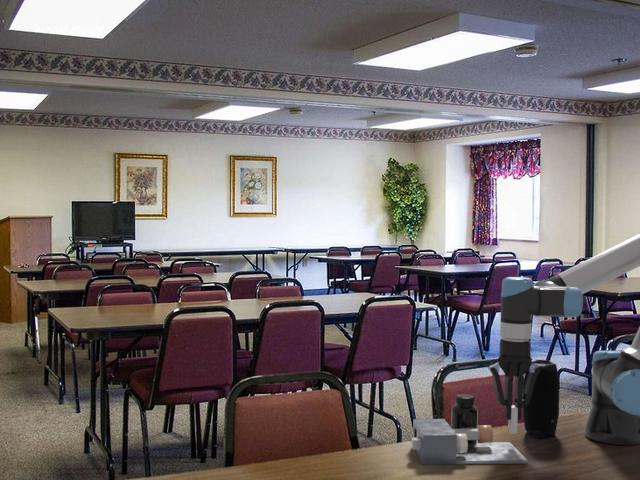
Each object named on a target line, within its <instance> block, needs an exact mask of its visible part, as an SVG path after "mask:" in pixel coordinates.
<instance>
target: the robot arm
mask: <svg viewBox="0 0 640 480" xmlns="http://www.w3.org/2000/svg"><path fill="white" fill-rule="evenodd" d="M637 268H640V233H639V234H636V235H634V236H633V237H631V238H628V239H626V240H624V241H623V242H620V243H618V244H616V245H614V246H613V247H610V248H608V249H606V250H604V251H602V252H600V253H598V254H596V255H594V256H592V257H590V258H588V259H586V260H584V261H582V262H580V263H578V264H576V265H574V266H572V267H569V268H568V269H566V270H564V271H562V272H560V273H558V274H556V275H554V276H552V277H550V278H548V279H543V280H537V281H536V282H535V283H533V279H532V278H531V277H526V276H525V277H522V276H507V277H505V278H503V280H502V283H501V294H500V324H499V325H500V329H499V330H500V332H499V337H501V338H500V340H499V356H498V358H497V360H496V363H494V364H491V365H488V370H489V372H490V374H491V376H492V379H493V385H494V391H495V394H496V399H497V402H498V403H499V404H500V405H502V406H504V418H505V420H506V421H507V420H508V421H507V425H508V426H507V430H508V432H509V433H510V434H511V435H515V434H516V435H517V434H518V421H520V420H521V419H522V411H523V406H524V405H528V404H529V403H530V399H531V395H532V392H533V388H534V384H535V381H536V377H537V375H538V374H539V373H540V371H541V369H540V368H539V367H537V366H535V365H534V364H532V361H533V360H532V359H531V349H532V348H531V347H532V346H531V345H532V342H531V341H530V339H531V338H532V318H533V317H553V318H554V317H556V318H557V317H558V318H567V319H568V318H579V316H580V315H581V314H582V312H583V306H584V296H583V295H584V294H585V293H588V292H590V291H592V290H594V289H597V288H598V287H600V286H602V285H604V284H606V283H608V282H611V281H612V280H615V279H616V278H619V277H621V276H623V275H624V274H627V273H628V272H629V273H630V272H631V271H633V270H635V269H637ZM591 364H592V365H591V367H592V373H591V375H592V376H591V379H592V380H591V381H592V383H591V408H590V410H589V413H588V415H587V418H586V421H585V424H584V436H585V437H587V438H588V439H589V440H593V441H595V442H598V443H605V444H609V445H617V446H634V445H635V446H636V445H640V326H638V330H637V331H636V334H635V336H634V338H633V341H632V343H631V345H630V346H629V347H625V348H623V349H621V350H597V351H595V352H593V355H592V360H591ZM529 367H530V369H529ZM500 369H501V371H502V372H503V373H504V379H505V380H504V381H505V382H504V390H503V386H502V382H501V381H502V380H501V376H500V374H499V373H500ZM528 369H529V372H530V373H529V375H528V379H527V382H526V386H525V390H524V393H523V381H524V376H525V373H526V371H527V370H528ZM514 379H515V380H514ZM514 381H515V382H514ZM514 383H515V384H514ZM513 385H514V386H513ZM513 387H514V404H513Z"/></svg>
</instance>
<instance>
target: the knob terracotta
mask: <svg viewBox="0 0 640 480" xmlns="http://www.w3.org/2000/svg"><path fill="white" fill-rule="evenodd" d="M452 430H453V431H454V432H455V433H456V434H466V436H467V440H477V443H492V442H493V441H494V432H493V431H494V430H493V427H492V425H490V424H482V425H481V424H480V425H479V424H478V426H477V429H452Z"/></svg>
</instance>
